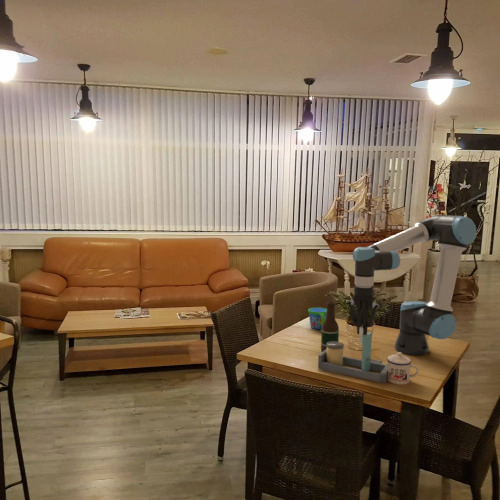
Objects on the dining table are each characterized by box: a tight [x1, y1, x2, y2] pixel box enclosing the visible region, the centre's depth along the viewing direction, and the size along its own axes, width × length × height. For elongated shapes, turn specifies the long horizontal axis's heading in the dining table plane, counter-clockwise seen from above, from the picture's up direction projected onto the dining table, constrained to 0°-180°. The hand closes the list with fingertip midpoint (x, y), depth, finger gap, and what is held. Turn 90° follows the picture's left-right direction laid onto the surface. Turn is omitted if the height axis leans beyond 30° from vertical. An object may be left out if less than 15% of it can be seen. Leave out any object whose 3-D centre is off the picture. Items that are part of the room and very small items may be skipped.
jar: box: [326, 341, 345, 366], centre depth 197 cm, size 7×7×10 cm
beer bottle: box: [320, 301, 340, 353], centre depth 212 cm, size 8×8×24 cm
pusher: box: [360, 331, 384, 372], centre depth 188 cm, size 7×9×16 cm
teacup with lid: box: [386, 351, 419, 385], centre depth 183 cm, size 12×9×12 cm
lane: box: [317, 349, 388, 384], centre depth 192 cm, size 28×12×6 cm, turn 59°
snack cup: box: [307, 307, 327, 330], centre depth 252 cm, size 16×10×10 cm
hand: (361, 342), depth 190 cm, fingers closed
